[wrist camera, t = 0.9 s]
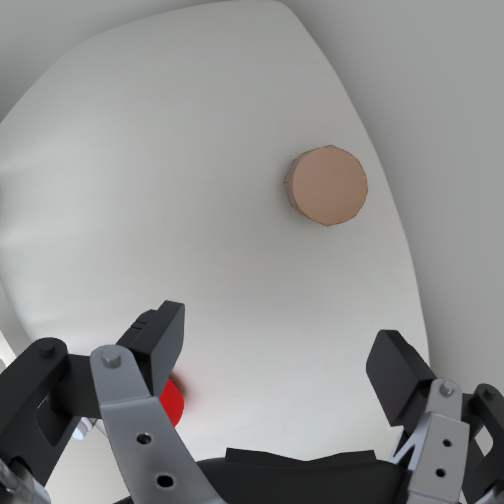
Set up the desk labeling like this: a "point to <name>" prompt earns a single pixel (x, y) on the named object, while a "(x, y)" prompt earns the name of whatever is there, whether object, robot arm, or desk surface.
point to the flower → (172, 402)
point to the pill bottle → (84, 427)
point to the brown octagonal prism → (326, 185)
